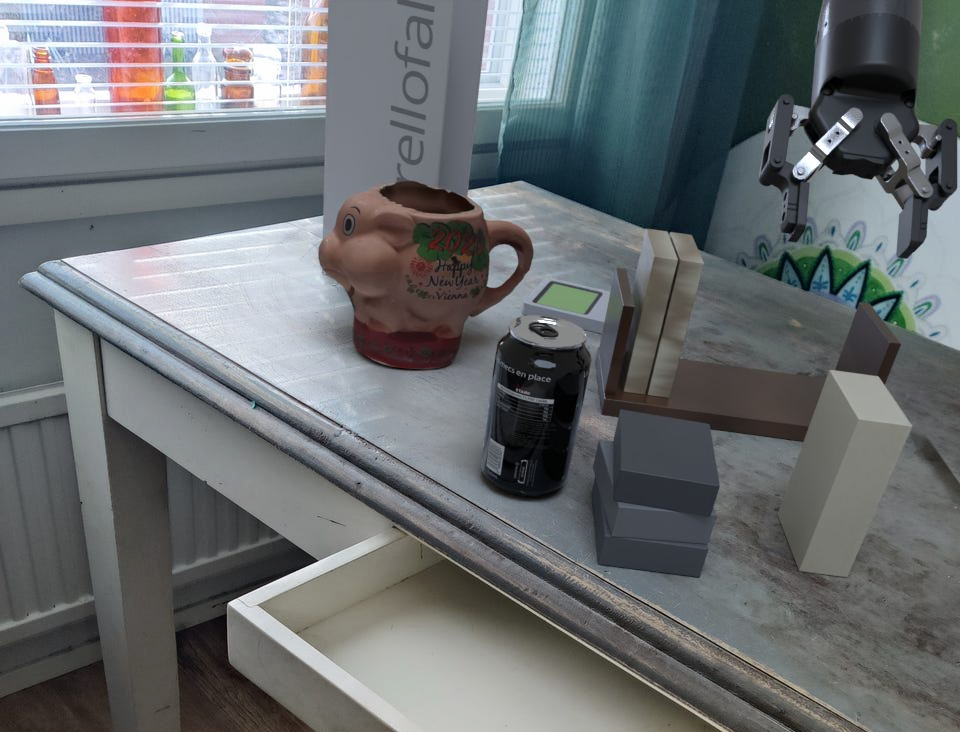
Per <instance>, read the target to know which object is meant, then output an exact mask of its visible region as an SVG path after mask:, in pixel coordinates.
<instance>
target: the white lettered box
mask: <svg viewBox="0 0 960 732" xmlns="http://www.w3.org/2000/svg"><path fill="white" fill-rule="evenodd" d="M489 1H490V0H327V35H326V36H327V39H326V42H327V43H326V79H325V81H326V82H325V83H326V84H325V85H326V86H325V122H324V124H325V125H324V126H325V129H324V164H323V165H324V171H323V213H322V214H323V215H322V240H323V239H324V238H325V237H326V236H327V235H328V234H329V233H330V232H331V231H332V230H333V228H334V227H335V224H336V219H337V215H338V212H339V210H340V209H341V207H342V205H343V204H344V202H345V201H346V200H347V199H348V198H349V197H351V196H353V195H355V194H358V193H361V192H365V191H368V190H370V189H371V188H373V187H375V186H379V185H385V184H390V183H396V182H402V181H416V182H418V183H421V184H425V185H428V186H432V187H437V188H442V189H446V190H450V191H452V192H454V193H457V194H460V195H464V196H467V197H469V196H468V195H469V184H470V176H471V167H472V158H473V148H474V139H475V129H476V122H477V112H478V102H479V95H480V94H479V93H480V83H481V76H482V66H483V57H484V55H483V54H484V49H485V48H484V47H485V37H486V30H487V29H486V28H487V19H488V10H489ZM323 273H325V274H324V275H326V274H327V273H326V272H325V271H324V270H323V269H322V268H321V274H323ZM326 276H328V274H327V275H326Z"/></svg>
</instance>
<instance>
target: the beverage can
mask: <svg viewBox="0 0 960 732" xmlns="http://www.w3.org/2000/svg"><path fill="white" fill-rule="evenodd" d="M587 340H588V335H587V332H586V330H583V329H582V328H581V327H579V326H577V325H576V324H573V323H571V322H569V321H566V320H563V319H559V318H555V317H549V316H540V315H529V316H526V315H521V316H518V317H515V318H513V319H511V320H510V321H509V323H508V332H507V333H506V334H504V335H503V336H502V337H501V338H500V339H499V340H498V342H497V345H496V350H495V355H494V363H493V370H492V377H491V384H490V391H489V398H488V404H487V405H488V406H487V413H486V419H485V420H486V421H485V427H484V435H483V442H482V450H481V457H480V468H481V471H482V473H483V474H484V476H485V477H486V478H487V479H488V480H489V481H490V482H492V484H494V485H495V486H496V487H498V488H499V489H501V490H502V491H504V492H507V493H509V494H512V495H514V496H515V495H516V496H520V497H538V496H543V495H545V494H548V493H551V492H554V491H556V490H558V489H559V488H561V487H562V486H563V485H565V483H566V482H567V480H568V476H569V472H570V469H571V468H570V467H571V463H572V459H573V455H574V449H575V445H576V441H577V440H576V439H577V435H578V430H579V425H580V420H581V414H582V412H583V411H582V410H583V405H584V400H585V395H586V390H587V386H588V381H589V376H590V371H591V365H592V355H591V353H590V351H589V349H588V348H587V345H586V343H587Z"/></svg>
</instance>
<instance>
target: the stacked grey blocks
mask: <svg viewBox="0 0 960 732" xmlns="http://www.w3.org/2000/svg"><path fill="white" fill-rule="evenodd" d="M617 417H618V418H617V421H616V422H617V423H616V426H615V431H614V435H613V440H607V439H605V440H604V439H598V442H597V447H596V451H595V456H594V459H593V460H594V461H593V464H592V470H593V473H594V479H593V485H592V489H591V500H592V501H591V502H592V503H591V504H592V511H593V512H592V513H593V524H594V533H595V544H596V545H595V546H596V554H597V564H598V565H600V566H610V567H617V568H622V569H623V568H624V569H631V570H641V571H646V572H647V571H648V572H654V573H655V572H656V573H662V574H663V573H664V574H671V575H679V576H686V577H693V578H694V577H695V578H700V577H701V575H702V571H703V568H704V565H705V562H706V559H707V555H708V552H709V546H708V544H709V543H710V538H711V535H712V532H713V529H714V526H715V523H716V520H717V516H718V514H717V512H716V509H715V503H716V500H717V497H718V495H719V490H720V488H721V485H720V484H721V483H720V477H719V472H718V468H717V460H716V457H715V456H716V455H715V454H716V453H715V448H714V443H713V436H712V431H711V430H712V429H710V424H706V423H700V422H694V421H688V420H682V419H676V418H670V417H664V416H657V415H651V414H645V413H639V412H633V411H627V410H620V413H619V416H617Z"/></svg>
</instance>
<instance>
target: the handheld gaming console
mask: <svg viewBox="0 0 960 732" xmlns="http://www.w3.org/2000/svg"><path fill="white" fill-rule="evenodd" d="M610 292H611V290H606V289H602V288H597V287H594V286H593V287H592V286H588V285H584V284H580V283H575V282H572V281H567V280H562V279H559V278H553V277H544V278H543V279H542V280H541V281H540V282H539V283H538V285H537V286H536V287H535V288H534V289H533V290H532V291H531V292H530V293H529V295H527V296H526V298H525V299H524V300H523V301H522V308H521V314H522V316H529V315H540V316H549V317H555V318H559V319H563V320H566V321H569V322H571V323H573V324H576V325H577V326H579V327H581V328H582V329H583V330H584V331H589V332H592V333H596V334H600V335H602V331H603V326H604V322H605V317H606V312H607V307H608V302H609V297H610Z"/></svg>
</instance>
